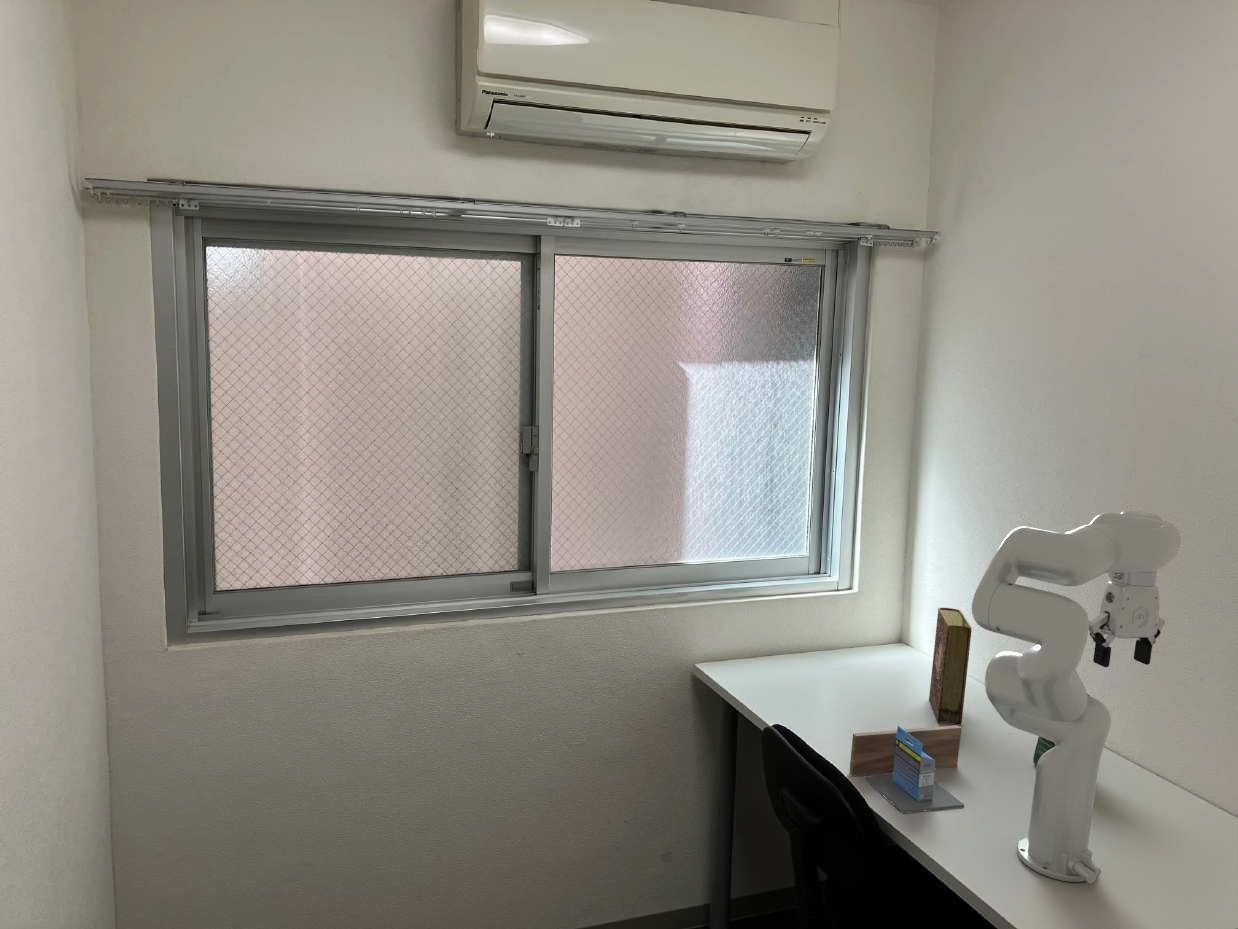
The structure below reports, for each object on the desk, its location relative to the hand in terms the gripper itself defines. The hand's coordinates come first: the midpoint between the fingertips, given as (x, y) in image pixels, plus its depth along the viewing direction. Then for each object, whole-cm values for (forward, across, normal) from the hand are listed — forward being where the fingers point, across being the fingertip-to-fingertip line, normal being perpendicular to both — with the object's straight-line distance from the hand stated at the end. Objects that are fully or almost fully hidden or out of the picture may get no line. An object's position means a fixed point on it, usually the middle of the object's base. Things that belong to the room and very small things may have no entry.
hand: (1121, 663), depth 167 cm
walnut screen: (+32, -27, +26) cm, 49 cm away
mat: (+32, -31, +17) cm, 48 cm away
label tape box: (+32, -31, +17) cm, 48 cm away
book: (+33, +2, +52) cm, 61 cm away
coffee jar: (+33, +8, +20) cm, 39 cm away
